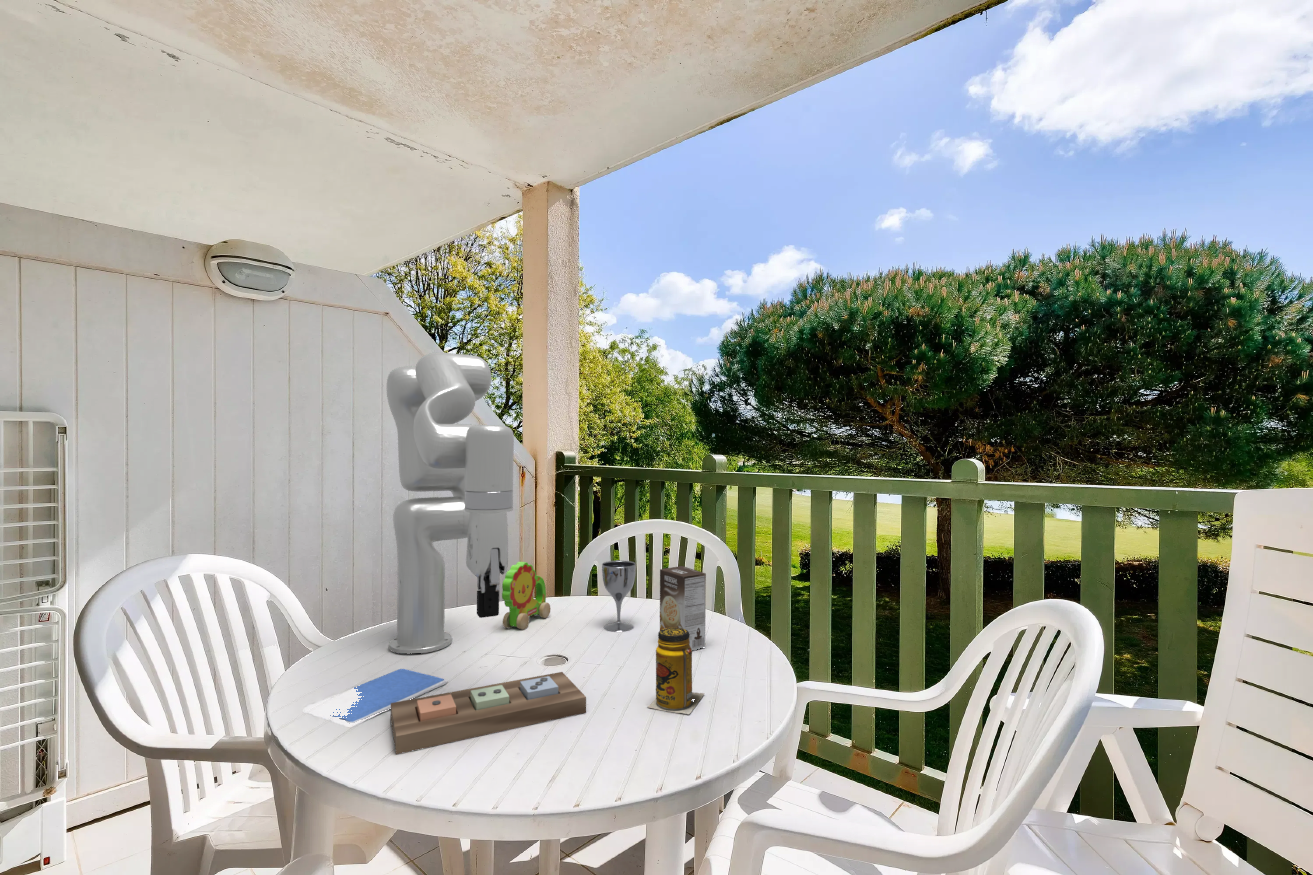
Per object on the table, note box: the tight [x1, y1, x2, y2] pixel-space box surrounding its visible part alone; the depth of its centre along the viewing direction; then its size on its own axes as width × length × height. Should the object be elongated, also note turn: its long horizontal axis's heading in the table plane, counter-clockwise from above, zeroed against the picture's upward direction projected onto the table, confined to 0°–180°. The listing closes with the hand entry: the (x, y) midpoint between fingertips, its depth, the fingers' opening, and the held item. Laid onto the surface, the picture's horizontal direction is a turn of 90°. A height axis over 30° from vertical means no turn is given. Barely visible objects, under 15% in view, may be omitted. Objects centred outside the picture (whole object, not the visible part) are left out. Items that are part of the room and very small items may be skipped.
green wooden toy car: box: [501, 561, 552, 630], centre depth 143 cm, size 16×6×15 cm, turn 159°
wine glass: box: [601, 560, 637, 633], centre depth 140 cm, size 8×8×15 cm
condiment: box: [647, 627, 705, 715], centre depth 99 cm, size 7×8×12 cm
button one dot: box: [417, 694, 456, 722], centre depth 90 cm, size 5×5×3 cm
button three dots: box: [520, 676, 558, 700], centre depth 97 cm, size 5×5×3 cm
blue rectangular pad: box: [330, 668, 448, 724], centre depth 101 cm, size 19×13×1 cm, turn 152°
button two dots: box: [471, 685, 509, 710], centre depth 94 cm, size 5×5×3 cm
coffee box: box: [659, 565, 707, 651], centre depth 127 cm, size 9×6×16 cm
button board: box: [390, 671, 587, 755], centre depth 94 cm, size 12×28×2 cm, turn 118°
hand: (487, 615), depth 95 cm, fingers closed
